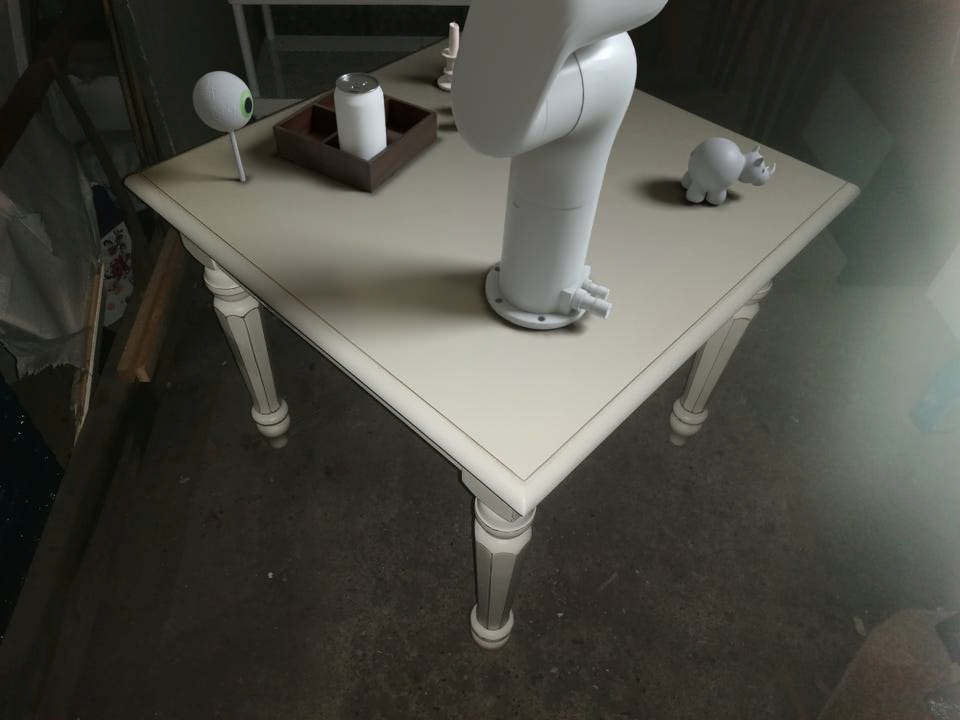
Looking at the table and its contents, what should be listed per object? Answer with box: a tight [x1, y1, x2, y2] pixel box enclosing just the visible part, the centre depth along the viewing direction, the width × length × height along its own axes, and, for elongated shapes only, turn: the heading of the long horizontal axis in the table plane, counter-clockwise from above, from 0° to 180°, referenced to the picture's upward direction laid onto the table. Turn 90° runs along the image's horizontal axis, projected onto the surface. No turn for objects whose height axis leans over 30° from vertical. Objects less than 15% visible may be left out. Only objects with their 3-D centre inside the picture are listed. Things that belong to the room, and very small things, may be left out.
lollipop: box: [192, 70, 254, 182], centre depth 87 cm, size 7×7×15 cm
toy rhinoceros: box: [680, 136, 776, 206], centre depth 93 cm, size 7×12×8 cm, turn 86°
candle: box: [437, 20, 460, 92], centre depth 110 cm, size 5×5×10 cm
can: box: [334, 72, 387, 161], centre depth 91 cm, size 6×6×12 cm
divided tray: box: [271, 86, 438, 193], centre depth 98 cm, size 17×17×4 cm
